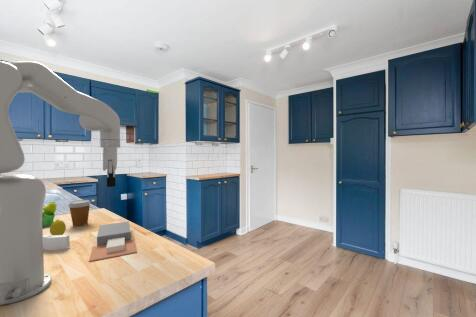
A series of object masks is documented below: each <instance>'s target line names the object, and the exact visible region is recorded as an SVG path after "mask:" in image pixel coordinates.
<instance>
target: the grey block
mask: <svg viewBox="0 0 476 317" xmlns="http://www.w3.org/2000/svg"><path fill="white" fill-rule="evenodd" d="M120 237H125V241H129V240H132V239H131V238H132V237H131V227H130V222H129V221H122V222H116V223H107V224H101V225H99V228H98V231H97V236H96V246H100V245H106V244H107V242H108V239H113V238H120Z"/></svg>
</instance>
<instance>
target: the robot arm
mask: <svg viewBox="0 0 476 317" xmlns="http://www.w3.org/2000/svg"><path fill="white" fill-rule="evenodd" d="M18 93H31V94H33V95H34V96H36V97H38V98H39V99H41V100H43V101H45V102H46V103H47V104H49V105H51V106H52V107H54V108H55V109H57V110H58V111H61V112H64V113H67V114H73V115H76V116H77V115H79V119H78V123H79V125H80V127H82V129H84V130H86V131H90V132H99V142H100V146H99V147H100V148H102V170H103V171H104V172H105V171H106V176H107V177H106V187H108V188H115V187H116V170H117V167H118V148H119V149H120V148H121V118H120V117H119V115H118V114H117V112H116V111H115V109H113V108H111V106H109V105H108V104H107V103H105V102H104V101H101V100H100V99H97V98H94V97H92V96H90V95H88V94H86V93H83V92H80V91H78V90H76V89H75V88H74V87H72V86H71V85H70V84H68V83H67V82H66V81H64V80H63V79H62V78H61V77H60V76H58V75H57V74H56V73H55V72H54V71H52V70H51V69H49V67H48V66H46V65H44V64H43V63H41V62H37V61H33V60H31V61H28V60H25V61H24V60H23V61H22V60H21V61H10V62H8V61H7V62H6V61H3V60H0V306H1V305H9V304H13V303H17V302H21V301H23V300H27V299H28V298H31V297H33V296H35V295H37V294H39V293H41V292H43V291H44V290H45V289H47V288H48V287H49V286H50V285H51V282H52V276H51V275H50V274H47V273H45V268H44V267H45V266H44V264H45V262H44V261H45V260H44V250H43V235H44V234H43V233H44V232H43V227H42V212H44V210H43V208H44V204H45V199H46V194H47V190H46V186H45V184H44V182H43V181H42V180H41V179H39V178H38V177H36V176H33V175H30V174H13V173H12V172H15V171H17V170H19V169H21V168H22V167H23V165H24V163H25V160H26V159H25V153H24V151H23V149H22V147H21V143H20V141H19V138H18V137H17V135H16V131H15V130H14V127H13V125H12V121H11V119H10V115H9V109H10V105H11V104H12V101H13V99H14V98H15V97H16V95H18ZM5 173H7V174H5ZM8 173H11V174H8Z"/></svg>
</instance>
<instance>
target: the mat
mask: <svg viewBox="0 0 476 317" xmlns="http://www.w3.org/2000/svg"><path fill="white" fill-rule="evenodd" d="M106 247H107V244H106V245H100V246H97V245H95V246H92V248H91V253H90V255H89V259H88V262H89V263H91V262H95V261H100V260H105V259H106V260H107V259H112V258H115V257H120V256H121V257H122V256H126V255H132V254H136V253H137V246H136V241H135V239H131V240H129V241H125V250H122V251H116V252H110V253H106Z"/></svg>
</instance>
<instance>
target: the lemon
mask: <svg viewBox="0 0 476 317" xmlns="http://www.w3.org/2000/svg"><path fill="white" fill-rule="evenodd" d="M49 226H50V227H49V233H50V235H65V232H66V230H67V226H66V223H65V222H64V221H63V220H60V219H56V220H53V223H52V224H51V225H49Z"/></svg>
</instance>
